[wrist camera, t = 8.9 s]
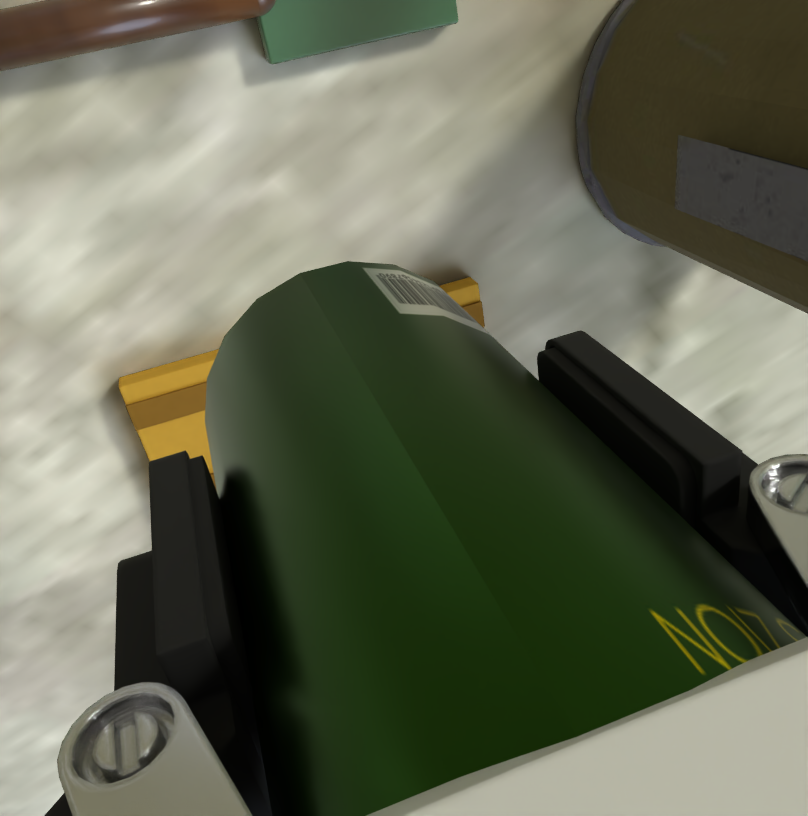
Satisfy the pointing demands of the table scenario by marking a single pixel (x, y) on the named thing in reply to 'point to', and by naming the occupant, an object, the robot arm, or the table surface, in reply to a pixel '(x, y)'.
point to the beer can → (440, 549)
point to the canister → (704, 134)
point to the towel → (186, 393)
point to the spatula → (209, 24)
